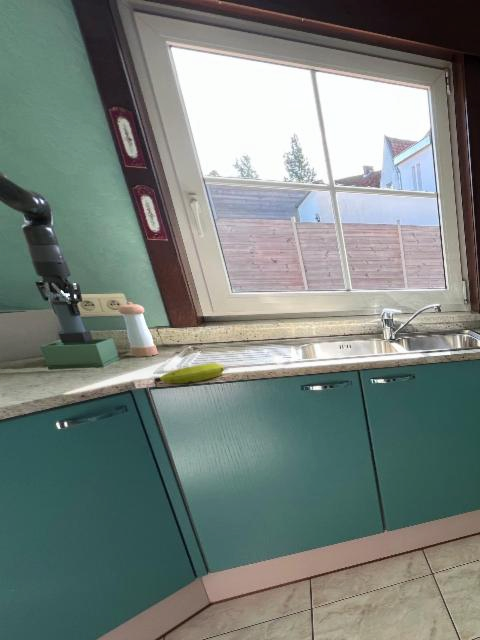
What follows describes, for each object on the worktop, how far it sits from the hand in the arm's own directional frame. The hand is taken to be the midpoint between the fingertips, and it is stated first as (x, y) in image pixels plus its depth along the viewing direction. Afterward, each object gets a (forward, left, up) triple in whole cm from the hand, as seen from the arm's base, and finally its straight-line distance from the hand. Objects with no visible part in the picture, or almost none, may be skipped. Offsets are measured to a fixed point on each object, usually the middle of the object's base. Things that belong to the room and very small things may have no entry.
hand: (68, 315), depth 160 cm
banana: (+36, -32, -17) cm, 51 cm away
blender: (0, 0, -9) cm, 9 cm away
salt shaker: (+12, +14, -17) cm, 25 cm away
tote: (0, 0, -16) cm, 16 cm away
